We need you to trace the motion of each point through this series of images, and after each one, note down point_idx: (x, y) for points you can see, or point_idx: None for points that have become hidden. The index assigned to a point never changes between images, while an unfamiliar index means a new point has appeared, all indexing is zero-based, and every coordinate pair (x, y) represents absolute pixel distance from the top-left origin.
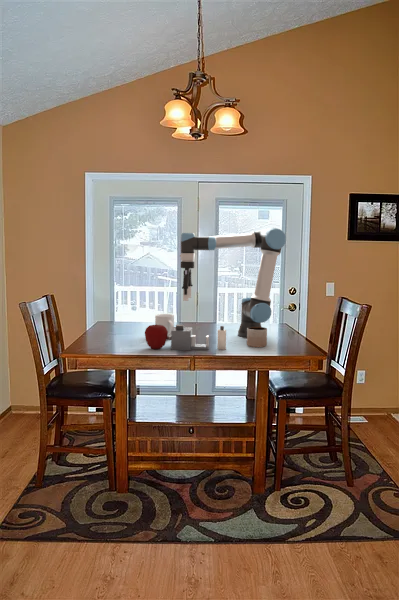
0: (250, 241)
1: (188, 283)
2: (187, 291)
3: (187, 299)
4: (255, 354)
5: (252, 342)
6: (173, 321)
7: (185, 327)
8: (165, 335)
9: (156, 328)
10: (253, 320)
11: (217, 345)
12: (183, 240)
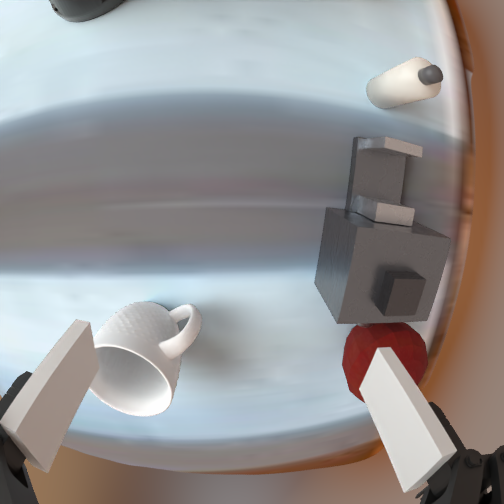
0: None
1: (27, 501)
2: (436, 430)
3: (394, 362)
4: (437, 21)
5: None
6: (138, 329)
7: (359, 265)
8: (414, 330)
9: (423, 373)
10: None
11: (387, 106)
12: None
